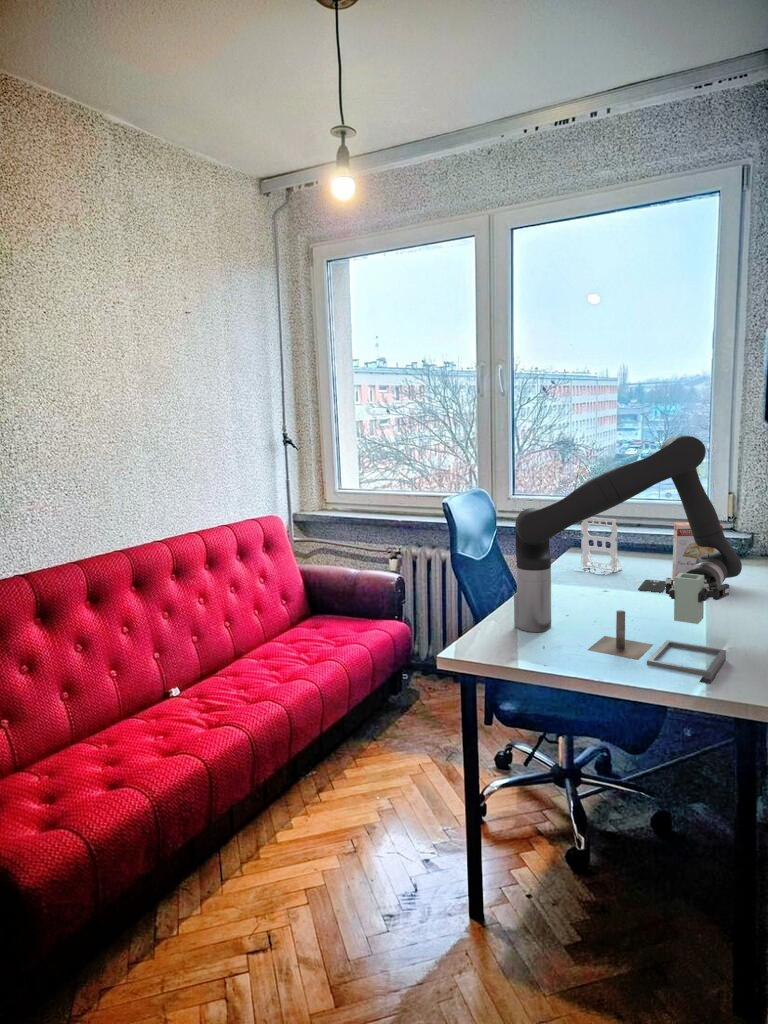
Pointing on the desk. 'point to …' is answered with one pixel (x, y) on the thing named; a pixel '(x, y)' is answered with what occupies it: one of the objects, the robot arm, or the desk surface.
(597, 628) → the desk surface
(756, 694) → the desk surface
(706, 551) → the cracker box
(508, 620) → the desk surface
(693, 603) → the sleeve
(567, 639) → the desk surface
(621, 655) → the board
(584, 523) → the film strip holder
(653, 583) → the smartphone
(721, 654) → the grey tray
